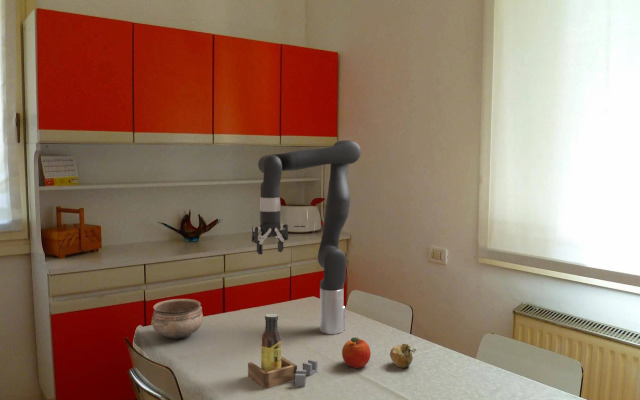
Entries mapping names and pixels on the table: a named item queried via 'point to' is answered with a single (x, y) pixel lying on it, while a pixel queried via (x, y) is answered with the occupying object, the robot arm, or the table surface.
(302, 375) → the clip
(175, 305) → the cooking pot
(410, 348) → the onion
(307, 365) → the clip
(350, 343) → the fruit
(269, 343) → the sauce bottle
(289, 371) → the frame
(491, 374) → the table surface
